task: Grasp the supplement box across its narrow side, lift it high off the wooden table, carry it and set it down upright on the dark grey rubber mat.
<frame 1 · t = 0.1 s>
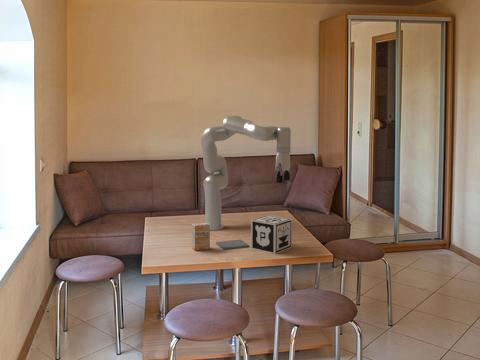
hand: (283, 181, 286), 31 cm above the table, tool pointing down, fingers open, 9 cm apart
rubber mat: (232, 245, 274), on the table
supplement box: (201, 249, 268), on the table
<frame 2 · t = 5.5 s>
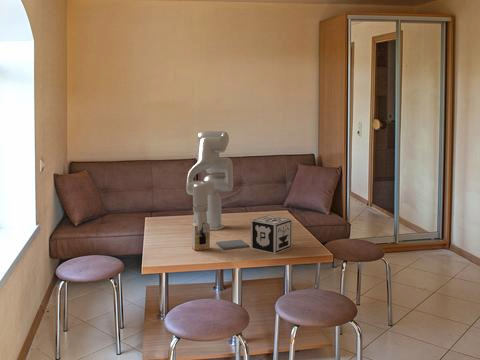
hand: (201, 242, 268), 3 cm above the table, tool pointing down, fingers closed on supplement box, 4 cm apart
supplement box: (201, 249, 268), on the table, touching gripper
everything else where it was.
when the fingers open (5 cm above the table, at t = 13.7 s): supplement box stays where it is, resting on rubber mat.
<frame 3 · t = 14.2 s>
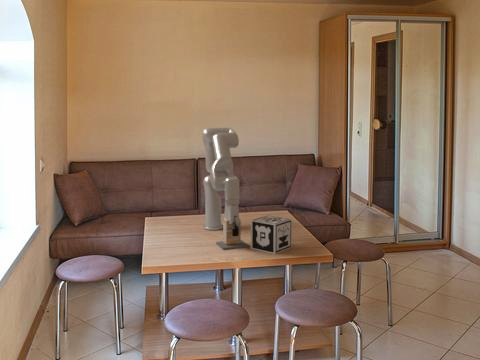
hand: (232, 233, 273), 6 cm above the table, tool pointing down, fingers open, 9 cm apart
supplement box: (232, 243, 274), point 1 cm above the table, touching rubber mat
everything else where it was.
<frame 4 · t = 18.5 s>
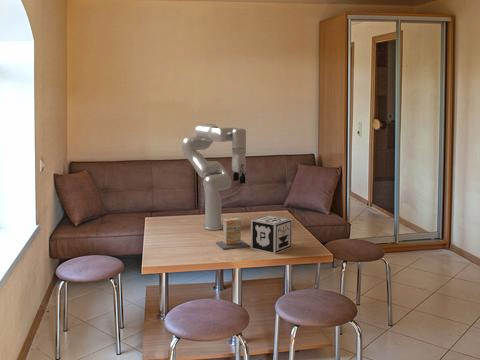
hand: (239, 182, 290), 30 cm above the table, tool pointing down, fingers open, 9 cm apart
nothing on the table moved.
at the end: supplement box inside the target area on the rubber mat (0.1 cm from its centre), point 0.8 cm above the rubber mat's base; supplement box tilted 0°; the gripper is holding nothing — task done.
